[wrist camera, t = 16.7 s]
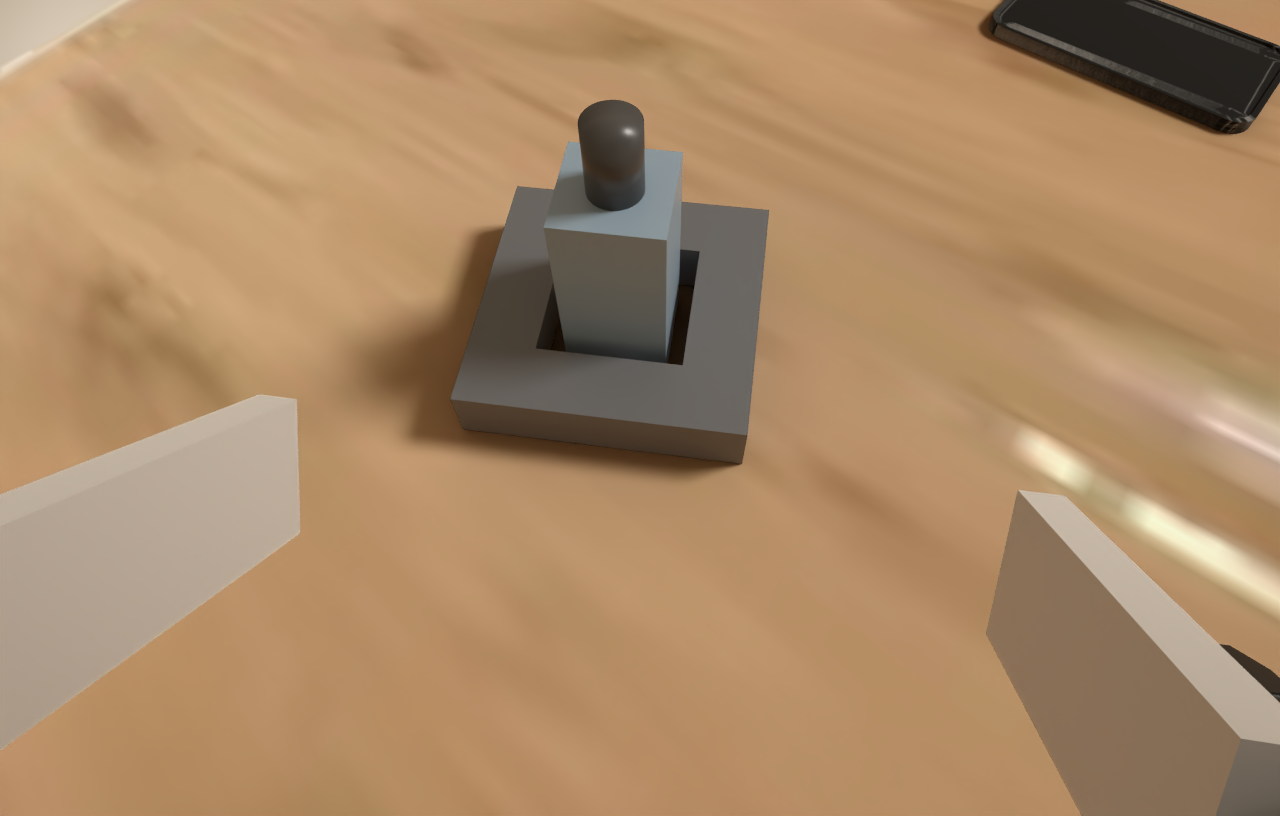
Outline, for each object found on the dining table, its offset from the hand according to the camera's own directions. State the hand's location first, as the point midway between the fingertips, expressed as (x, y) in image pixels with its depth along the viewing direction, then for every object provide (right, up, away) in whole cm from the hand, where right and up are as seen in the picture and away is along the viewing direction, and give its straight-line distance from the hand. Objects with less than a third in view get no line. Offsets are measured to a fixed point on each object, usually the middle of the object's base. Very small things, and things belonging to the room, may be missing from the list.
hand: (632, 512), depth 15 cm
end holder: (-1, +5, +23) cm, 23 cm away
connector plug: (-1, +5, +23) cm, 23 cm away
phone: (+29, +22, +33) cm, 49 cm away
